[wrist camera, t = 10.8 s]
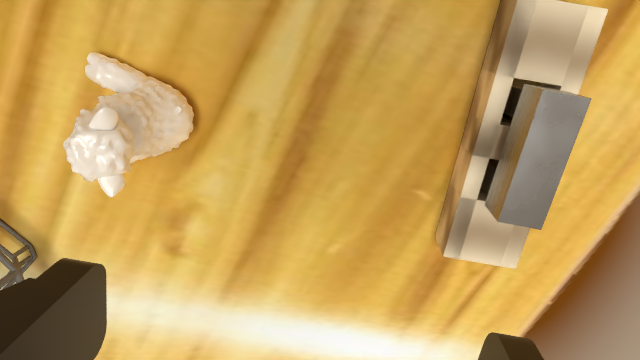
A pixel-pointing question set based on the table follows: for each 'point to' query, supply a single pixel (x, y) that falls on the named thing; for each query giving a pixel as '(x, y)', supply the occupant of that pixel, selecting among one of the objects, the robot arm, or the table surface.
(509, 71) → the rail
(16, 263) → the geometric lantern
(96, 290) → the robot arm
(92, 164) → the seated beast figurine
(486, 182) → the grey notched block
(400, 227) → the table surface
